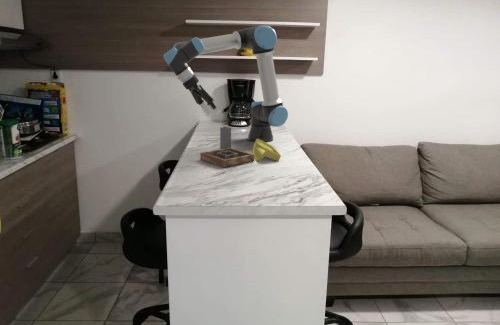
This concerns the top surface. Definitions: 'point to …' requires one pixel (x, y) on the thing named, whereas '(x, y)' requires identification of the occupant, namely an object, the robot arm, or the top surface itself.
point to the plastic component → (264, 151)
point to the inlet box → (227, 157)
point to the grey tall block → (225, 137)
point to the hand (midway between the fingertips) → (213, 114)
